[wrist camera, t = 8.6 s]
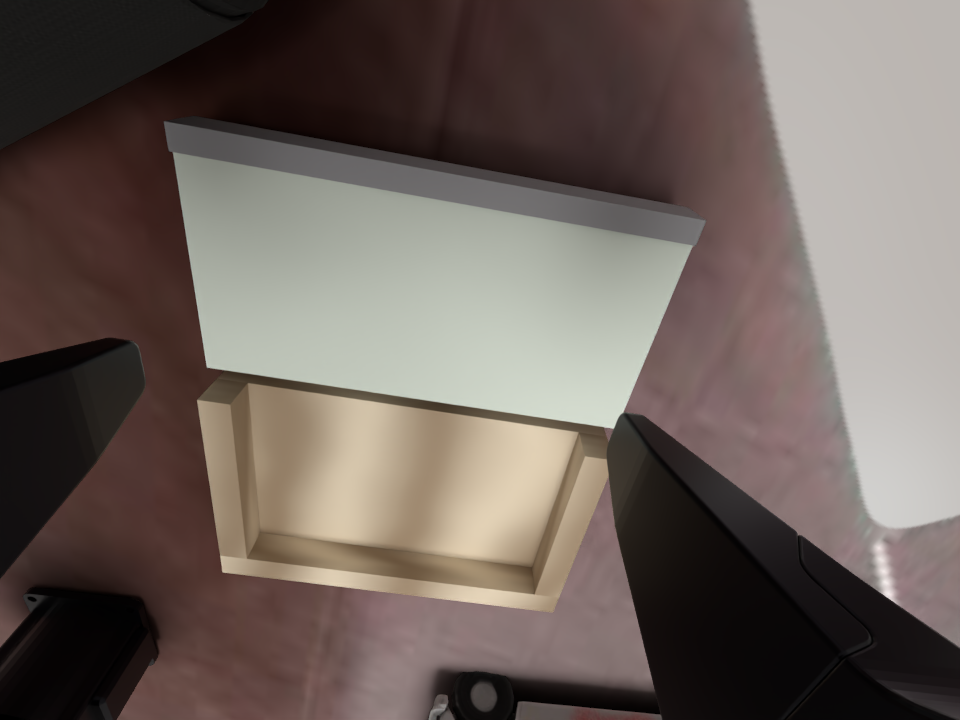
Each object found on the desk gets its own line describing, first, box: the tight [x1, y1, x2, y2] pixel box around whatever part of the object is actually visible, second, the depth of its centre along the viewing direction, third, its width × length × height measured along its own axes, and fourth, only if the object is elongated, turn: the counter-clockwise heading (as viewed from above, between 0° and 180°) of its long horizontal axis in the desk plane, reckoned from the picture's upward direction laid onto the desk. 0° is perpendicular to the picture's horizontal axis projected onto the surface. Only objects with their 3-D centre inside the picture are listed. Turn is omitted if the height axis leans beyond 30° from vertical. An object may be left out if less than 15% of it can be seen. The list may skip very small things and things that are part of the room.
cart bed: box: [197, 370, 609, 612], centre depth 22 cm, size 16×10×3 cm, turn 80°
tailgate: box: [164, 116, 706, 429], centre depth 17 cm, size 16×2×8 cm
